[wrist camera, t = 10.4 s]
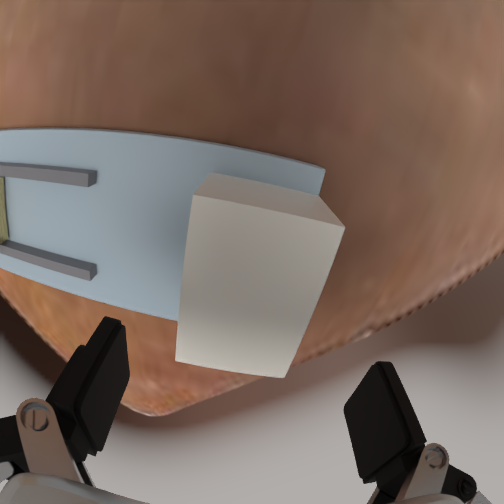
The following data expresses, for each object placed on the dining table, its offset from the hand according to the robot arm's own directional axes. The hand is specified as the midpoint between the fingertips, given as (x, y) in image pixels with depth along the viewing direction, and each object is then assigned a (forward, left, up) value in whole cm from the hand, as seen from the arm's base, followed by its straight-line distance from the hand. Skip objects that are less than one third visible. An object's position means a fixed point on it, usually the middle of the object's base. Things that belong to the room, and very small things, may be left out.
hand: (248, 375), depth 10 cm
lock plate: (-1, -10, -10) cm, 14 cm away
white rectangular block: (-1, 0, -9) cm, 9 cm away
